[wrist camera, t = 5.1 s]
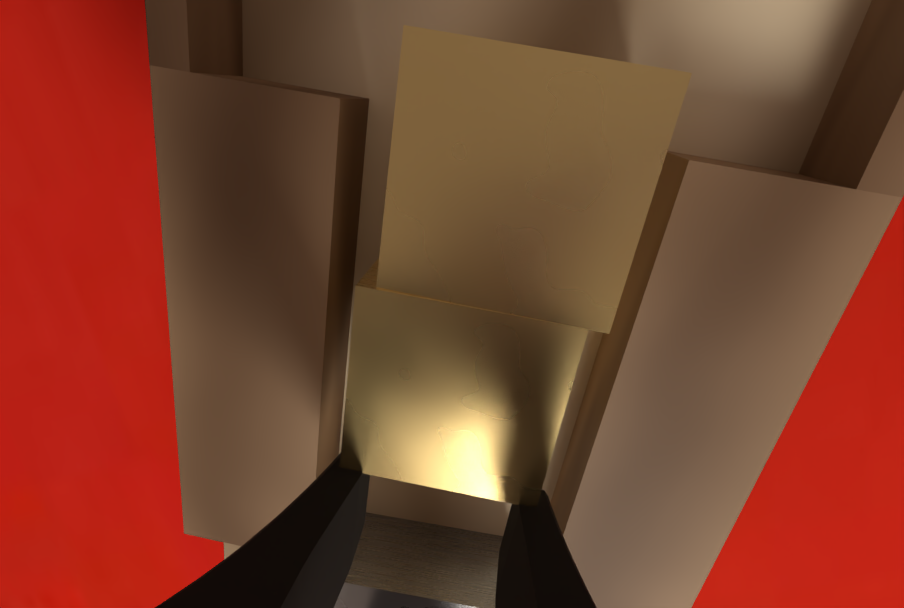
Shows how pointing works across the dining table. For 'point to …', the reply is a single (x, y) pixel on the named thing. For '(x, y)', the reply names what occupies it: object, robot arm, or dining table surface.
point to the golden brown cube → (521, 175)
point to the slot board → (604, 355)
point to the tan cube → (455, 394)
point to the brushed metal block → (420, 566)
